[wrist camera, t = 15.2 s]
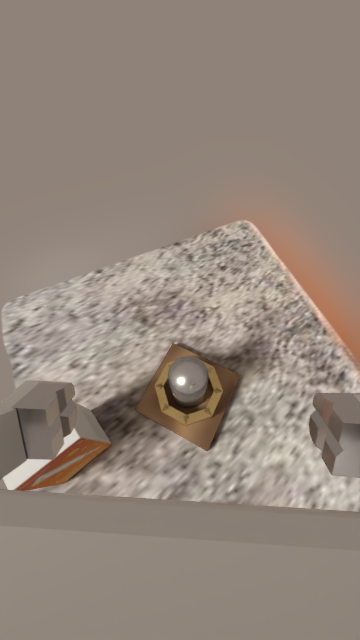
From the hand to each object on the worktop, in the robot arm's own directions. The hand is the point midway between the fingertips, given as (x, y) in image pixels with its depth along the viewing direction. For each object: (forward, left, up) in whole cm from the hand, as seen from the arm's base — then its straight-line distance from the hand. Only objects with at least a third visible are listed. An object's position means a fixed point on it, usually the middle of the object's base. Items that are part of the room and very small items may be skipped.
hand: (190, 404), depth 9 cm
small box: (+15, +8, -34) cm, 37 cm away
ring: (+4, -6, -32) cm, 33 cm away
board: (+4, -6, -33) cm, 34 cm away
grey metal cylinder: (+4, -7, -32) cm, 33 cm away
